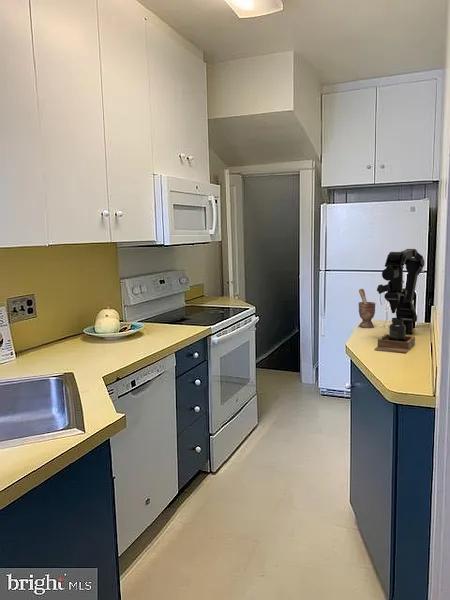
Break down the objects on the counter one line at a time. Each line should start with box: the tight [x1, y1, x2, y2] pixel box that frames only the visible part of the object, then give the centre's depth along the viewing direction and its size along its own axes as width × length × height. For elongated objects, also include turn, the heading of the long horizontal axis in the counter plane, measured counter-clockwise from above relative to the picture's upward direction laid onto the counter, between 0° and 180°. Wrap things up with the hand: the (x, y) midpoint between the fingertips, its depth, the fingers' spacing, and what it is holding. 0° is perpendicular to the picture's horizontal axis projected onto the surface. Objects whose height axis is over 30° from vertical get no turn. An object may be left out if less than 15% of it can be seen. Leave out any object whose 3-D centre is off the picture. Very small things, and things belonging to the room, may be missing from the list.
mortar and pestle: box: [358, 288, 376, 329], centre depth 258 cm, size 12×9×20 cm
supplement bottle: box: [388, 317, 406, 342], centre depth 213 cm, size 7×7×12 cm
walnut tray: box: [374, 333, 416, 354], centre depth 211 cm, size 18×13×4 cm
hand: (395, 311), depth 226 cm, fingers open, 9 cm apart
